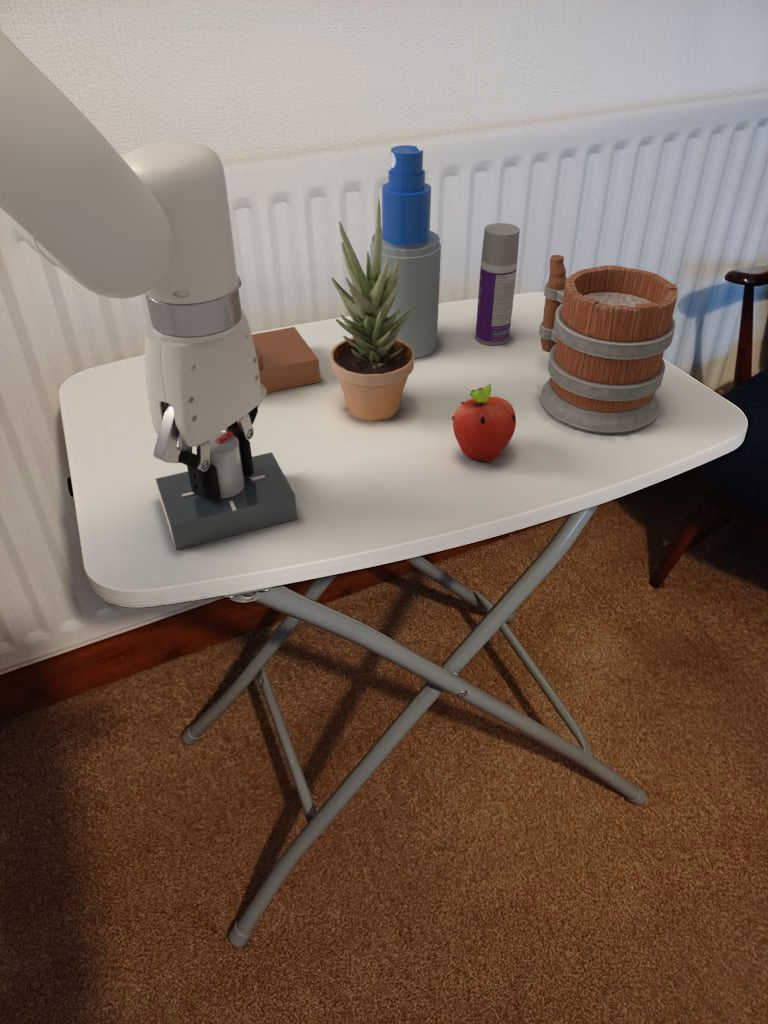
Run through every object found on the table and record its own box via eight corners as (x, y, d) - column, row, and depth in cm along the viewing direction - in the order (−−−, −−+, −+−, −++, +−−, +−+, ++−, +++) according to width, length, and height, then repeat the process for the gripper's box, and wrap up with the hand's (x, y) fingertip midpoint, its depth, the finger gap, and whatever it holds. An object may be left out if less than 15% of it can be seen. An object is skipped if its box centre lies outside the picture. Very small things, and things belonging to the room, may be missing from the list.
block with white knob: (219, 408, 94) (213, 371, 91) (198, 366, 102) (193, 331, 99) (323, 386, 98) (321, 350, 95) (296, 348, 106) (293, 313, 103)
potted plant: (339, 433, 90) (330, 214, 74) (328, 392, 97) (317, 184, 81) (424, 424, 91) (432, 207, 76) (407, 384, 98) (411, 179, 83)
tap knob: (225, 503, 75) (218, 457, 71) (194, 489, 76) (186, 444, 73) (253, 482, 77) (247, 437, 74) (223, 469, 79) (215, 425, 76)
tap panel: (176, 551, 74) (170, 525, 72) (160, 501, 80) (154, 476, 78) (297, 519, 78) (295, 494, 76) (274, 474, 83) (271, 450, 81)
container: (469, 333, 110) (477, 225, 100) (499, 328, 111) (509, 220, 101) (484, 348, 106) (494, 237, 97) (515, 342, 107) (527, 232, 98)
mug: (587, 448, 87) (612, 322, 78) (493, 372, 101) (504, 258, 91) (683, 418, 92) (717, 296, 83) (581, 350, 106) (600, 239, 96)
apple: (443, 441, 88) (447, 361, 82) (501, 434, 89) (509, 355, 83) (461, 480, 83) (467, 398, 76) (523, 473, 84) (534, 391, 77)
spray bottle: (382, 363, 103) (381, 161, 87) (363, 334, 109) (359, 141, 94) (446, 354, 105) (456, 154, 89) (423, 325, 111) (429, 136, 96)
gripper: (228, 265, 72) (249, 433, 84) (84, 334, 61) (132, 516, 73) (293, 283, 69) (306, 454, 81) (154, 359, 58) (192, 545, 70)
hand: (223, 482), depth 76 cm, fingers closed on tap knob, 4 cm apart
